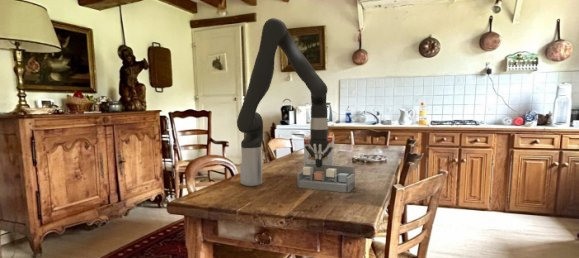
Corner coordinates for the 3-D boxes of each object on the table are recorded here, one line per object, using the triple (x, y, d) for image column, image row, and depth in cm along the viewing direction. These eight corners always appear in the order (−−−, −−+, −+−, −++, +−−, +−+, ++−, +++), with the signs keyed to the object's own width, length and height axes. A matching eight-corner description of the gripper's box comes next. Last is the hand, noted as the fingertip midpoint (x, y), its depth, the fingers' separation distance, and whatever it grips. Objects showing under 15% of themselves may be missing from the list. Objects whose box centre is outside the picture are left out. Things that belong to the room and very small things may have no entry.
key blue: (338, 181, 139) (338, 174, 138) (341, 179, 142) (341, 173, 141) (346, 182, 137) (346, 175, 137) (349, 180, 140) (348, 173, 140)
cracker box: (304, 179, 159) (303, 136, 157) (307, 176, 165) (306, 135, 163) (332, 180, 155) (332, 136, 153) (334, 177, 161) (334, 135, 159)
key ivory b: (326, 176, 141) (326, 169, 141) (329, 175, 144) (328, 168, 144) (333, 177, 139) (333, 170, 139) (336, 175, 142) (336, 168, 142)
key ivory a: (302, 174, 146) (302, 167, 146) (306, 173, 149) (305, 166, 149) (310, 175, 144) (310, 168, 144) (313, 173, 147) (313, 167, 147)
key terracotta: (314, 179, 144) (314, 172, 143) (317, 177, 147) (317, 171, 146) (321, 180, 142) (321, 173, 142) (324, 178, 145) (324, 171, 145)
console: (297, 187, 145) (297, 167, 144) (306, 182, 153) (306, 163, 153) (348, 192, 134) (348, 171, 133) (354, 186, 143) (354, 166, 142)
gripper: (301, 128, 142) (301, 167, 144) (330, 129, 136) (330, 170, 138) (308, 126, 149) (308, 164, 151) (336, 127, 143) (336, 166, 145)
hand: (319, 167), depth 144 cm, fingers closed
